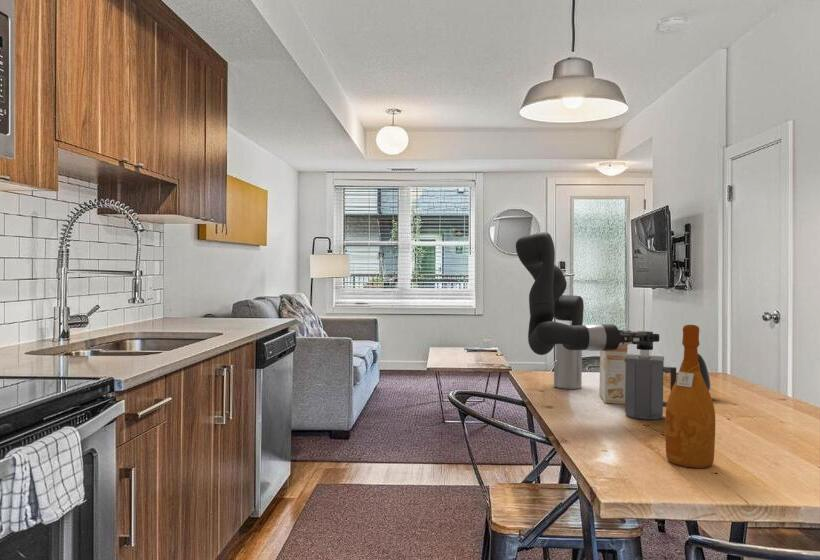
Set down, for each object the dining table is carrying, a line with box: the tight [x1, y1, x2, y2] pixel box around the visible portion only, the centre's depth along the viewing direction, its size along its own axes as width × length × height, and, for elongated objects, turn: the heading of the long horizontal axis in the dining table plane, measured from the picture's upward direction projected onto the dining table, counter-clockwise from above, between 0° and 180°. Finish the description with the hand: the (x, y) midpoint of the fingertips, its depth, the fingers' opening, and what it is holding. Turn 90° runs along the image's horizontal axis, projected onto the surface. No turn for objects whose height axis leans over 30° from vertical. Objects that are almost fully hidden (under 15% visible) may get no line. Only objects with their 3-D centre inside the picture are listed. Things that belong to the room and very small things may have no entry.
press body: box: [624, 353, 677, 421], centre depth 173 cm, size 13×10×17 cm
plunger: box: [636, 330, 654, 358], centre depth 174 cm, size 8×8×23 cm
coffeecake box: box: [598, 344, 628, 405], centre depth 198 cm, size 15×7×20 cm, turn 168°
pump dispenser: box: [677, 353, 711, 391], centre depth 201 cm, size 10×10×15 cm
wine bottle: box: [664, 324, 716, 469], centre depth 131 cm, size 10×10×30 cm
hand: (653, 336), depth 174 cm, fingers closed on plunger, 4 cm apart
